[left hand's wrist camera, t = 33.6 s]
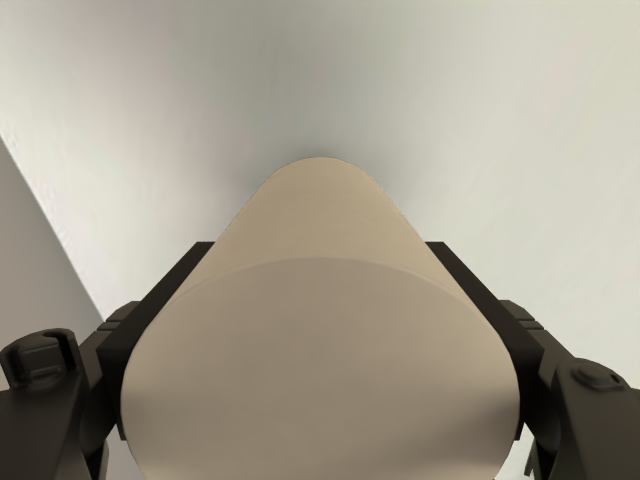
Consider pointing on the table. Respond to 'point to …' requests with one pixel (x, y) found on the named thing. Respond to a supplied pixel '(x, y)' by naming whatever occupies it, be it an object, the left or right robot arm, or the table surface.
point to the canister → (320, 350)
